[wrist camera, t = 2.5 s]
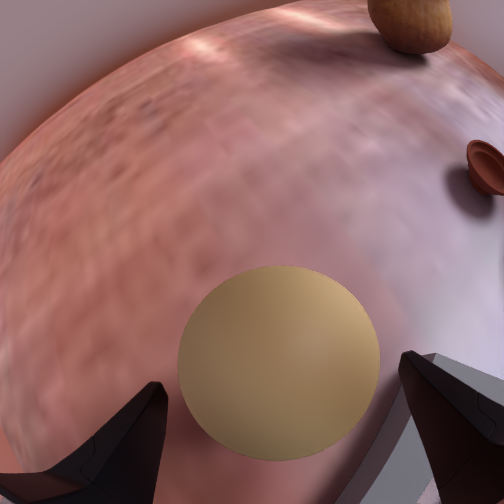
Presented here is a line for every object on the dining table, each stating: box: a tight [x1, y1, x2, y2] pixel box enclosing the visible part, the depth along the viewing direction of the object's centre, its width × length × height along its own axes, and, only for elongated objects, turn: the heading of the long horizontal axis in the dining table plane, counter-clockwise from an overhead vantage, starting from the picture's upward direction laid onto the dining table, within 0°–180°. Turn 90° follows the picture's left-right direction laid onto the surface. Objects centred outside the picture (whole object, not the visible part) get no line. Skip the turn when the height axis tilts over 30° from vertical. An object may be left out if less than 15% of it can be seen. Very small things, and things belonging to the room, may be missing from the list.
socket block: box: [334, 353, 504, 504], centre depth 11 cm, size 14×14×4 cm
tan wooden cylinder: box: [178, 266, 380, 461], centre depth 12 cm, size 5×5×12 cm
